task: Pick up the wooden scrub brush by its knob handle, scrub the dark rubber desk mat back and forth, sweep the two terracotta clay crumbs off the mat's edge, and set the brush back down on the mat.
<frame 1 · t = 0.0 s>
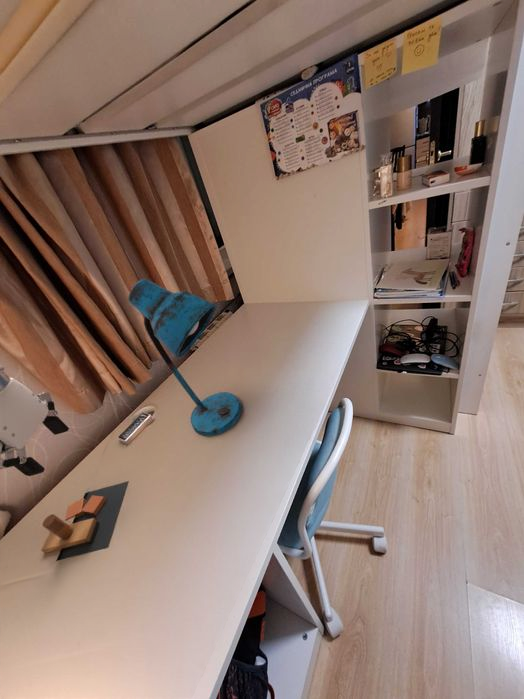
hand: (50, 451, 57), 25 cm above the table, tool pointing down, fingers open, 9 cm apart
multiport hub: (138, 430, 93), on the table
mat: (83, 522, 71), on the table
crumb b: (95, 506, 73), point 1 cm above the table, touching mat
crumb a: (77, 511, 74), point 1 cm above the table, touching mat
desk lamp: (222, 415, 88), on the table
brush: (74, 538, 67), point 1 cm above the table, touching mat
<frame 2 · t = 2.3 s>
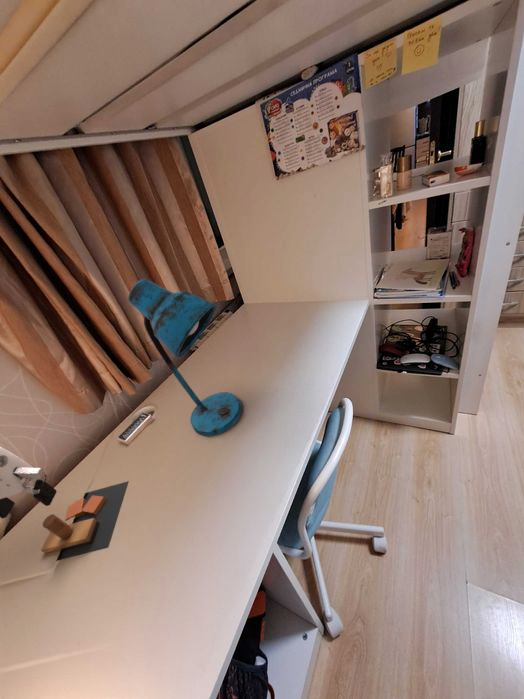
hand: (30, 504, 59), 16 cm above the table, tool pointing down, fingers open, 9 cm apart
nothing on the table moved.
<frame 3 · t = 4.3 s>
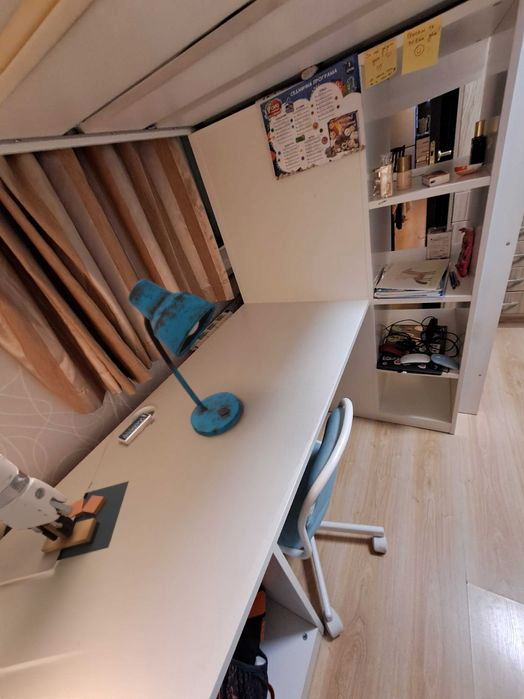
hand: (64, 531, 65), 4 cm above the table, tool pointing down, fingers closed on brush, 2 cm apart
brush: (74, 538, 67), point 1 cm above the table, touching gripper, mat
everything else where it was.
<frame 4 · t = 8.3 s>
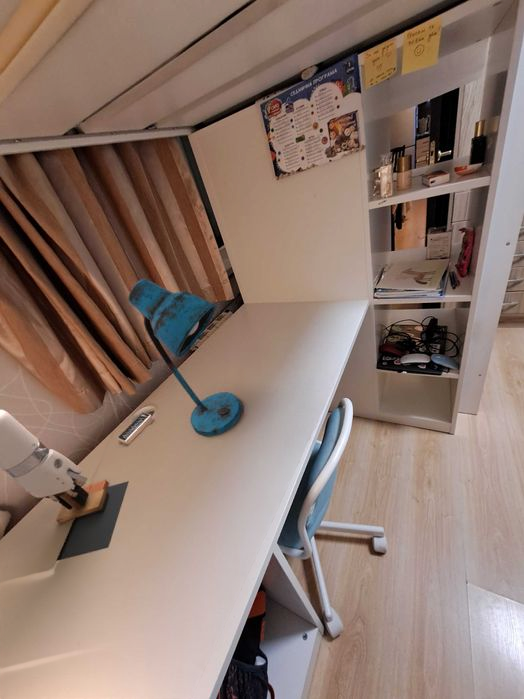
hand: (78, 501, 72), 4 cm above the table, tool pointing down, fingers closed on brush, 2 cm apart
crumb b: (99, 491, 77), point 1 cm above the table, touching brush
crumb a: (84, 496, 77), point 1 cm above the table, touching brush
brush: (86, 509, 73), point 1 cm above the table, touching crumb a, crumb b, gripper
everything else where it was.
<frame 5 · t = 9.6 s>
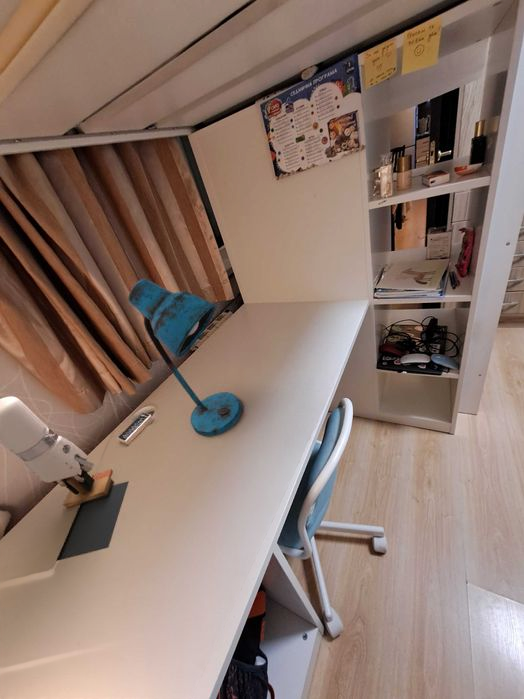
hand: (85, 487, 75), 4 cm above the table, tool pointing down, fingers closed on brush, 2 cm apart
crumb b: (105, 480, 80), on the table, touching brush
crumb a: (91, 484, 80), on the table, touching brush
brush: (92, 495, 76), point 1 cm above the table, touching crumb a, crumb b, gripper
everything else where it was.
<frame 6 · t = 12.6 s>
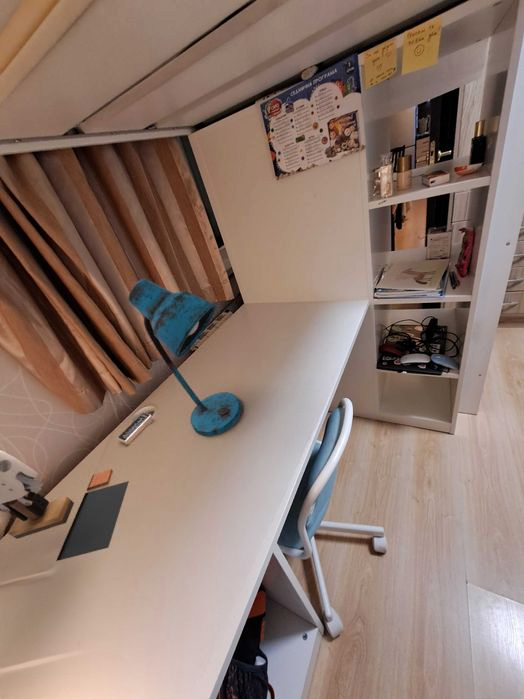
hand: (36, 511, 60), 14 cm above the table, tool pointing down, fingers closed on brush, 2 cm apart
crumb b: (105, 480, 80), on the table
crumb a: (91, 484, 80), on the table
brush: (46, 520, 62), point 10 cm above the table, touching gripper
everything else where it was.
when the fingers open (4 cm above the table, at t = 14.7 s): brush stays where it is, resting on mat.
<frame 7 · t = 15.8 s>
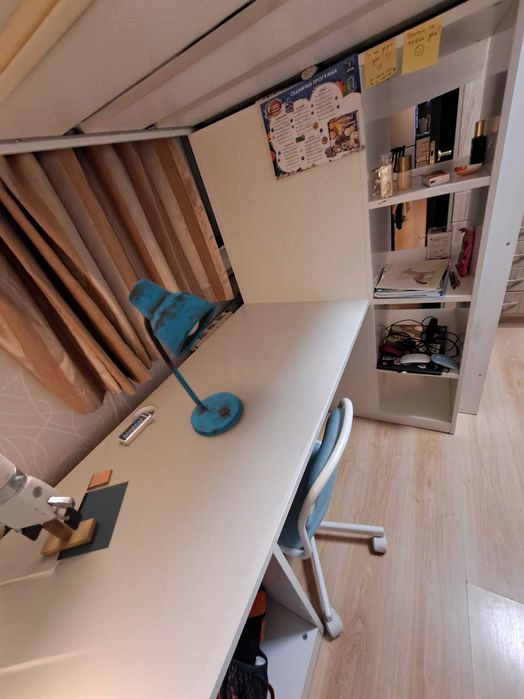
hand: (58, 528, 65), 6 cm above the table, tool pointing down, fingers open, 9 cm apart
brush: (74, 540, 67), point 1 cm above the table, touching mat
everything else where it was.
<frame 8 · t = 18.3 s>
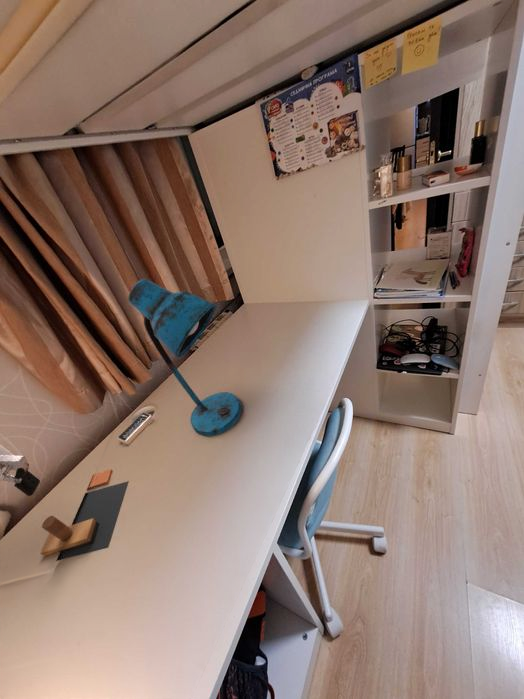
hand: (12, 494, 57), 20 cm above the table, tool pointing down, fingers open, 9 cm apart
nothing on the table moved.
at the end: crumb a inside the target area (4.9 cm from its centre), on the table; crumb b inside the target area (3.4 cm from its centre), on the table; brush tilted 0° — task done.
